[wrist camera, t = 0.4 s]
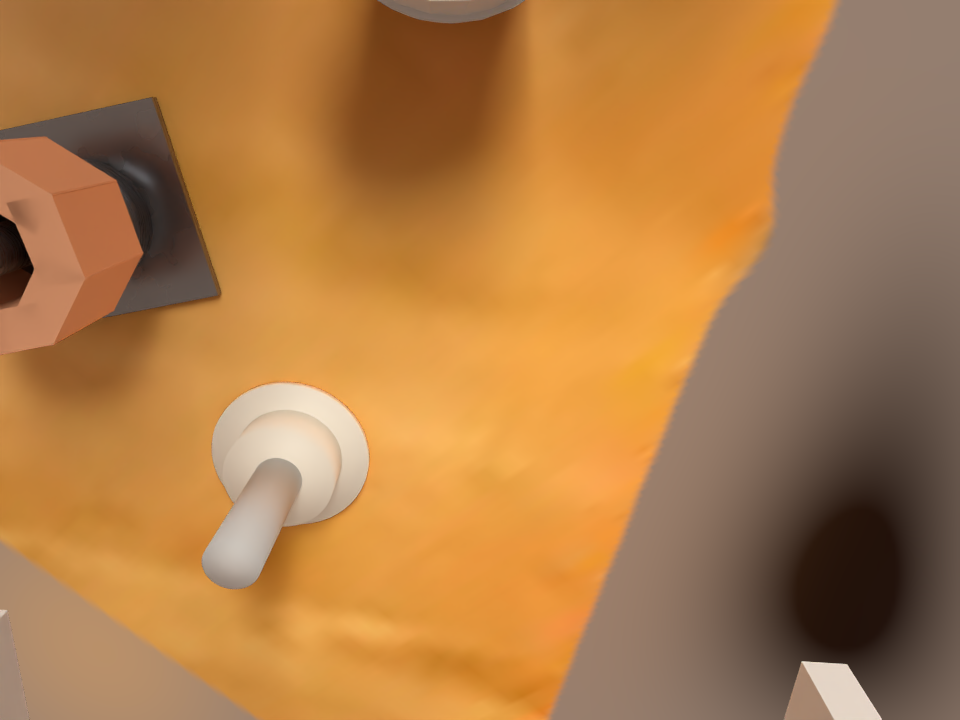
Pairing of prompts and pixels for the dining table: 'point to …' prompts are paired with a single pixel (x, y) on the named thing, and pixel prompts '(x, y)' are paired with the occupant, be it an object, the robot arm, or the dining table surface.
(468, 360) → the dining table surface
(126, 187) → the stand
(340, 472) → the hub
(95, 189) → the collar
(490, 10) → the disposable coffee cup
